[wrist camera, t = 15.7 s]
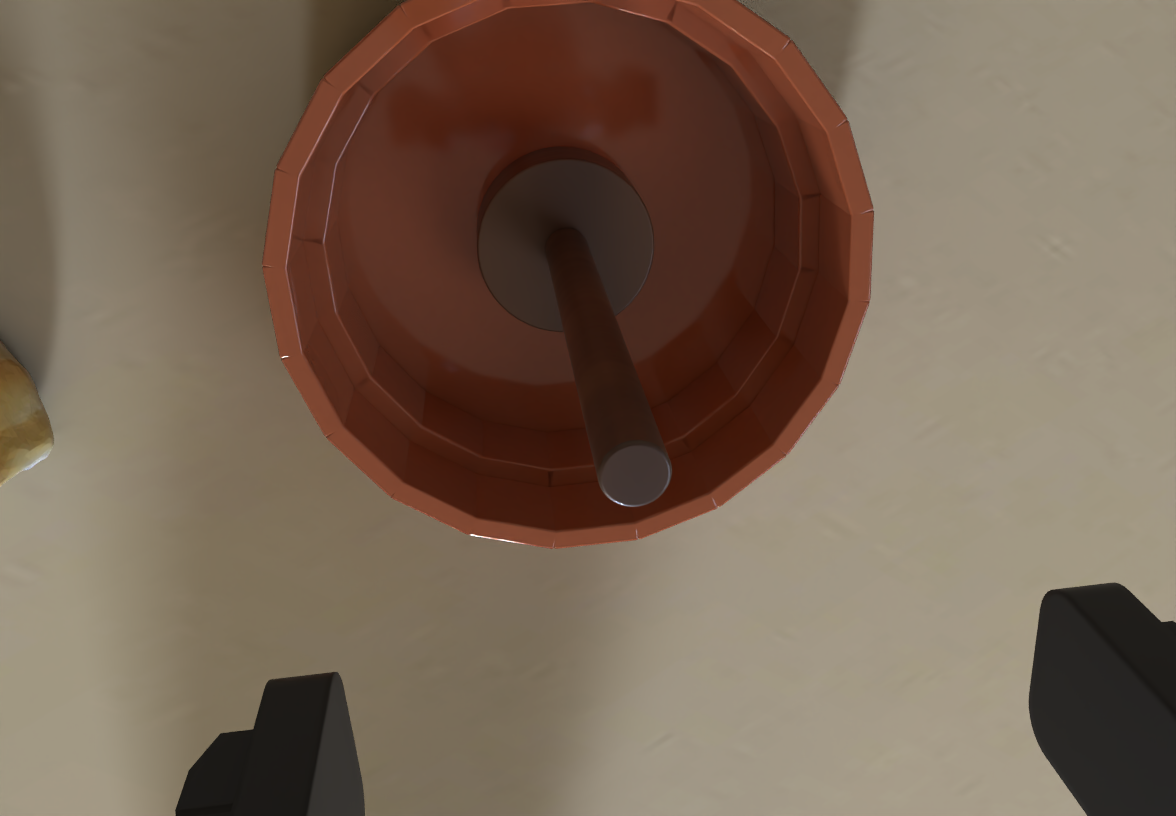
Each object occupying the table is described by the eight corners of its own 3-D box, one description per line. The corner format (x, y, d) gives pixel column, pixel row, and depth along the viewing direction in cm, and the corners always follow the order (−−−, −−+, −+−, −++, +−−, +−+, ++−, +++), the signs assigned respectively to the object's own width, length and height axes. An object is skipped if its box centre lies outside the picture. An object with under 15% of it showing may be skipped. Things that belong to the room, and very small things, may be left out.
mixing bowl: (346, 476, 35) (322, 575, 29) (256, -25, 28) (204, -19, 23) (802, 429, 36) (861, 516, 30) (810, -66, 29) (887, -70, 24)
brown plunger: (486, 318, 32) (494, 623, 18) (467, 153, 30) (460, 343, 16) (648, 303, 33) (788, 590, 18) (640, 138, 31) (791, 312, 16)
